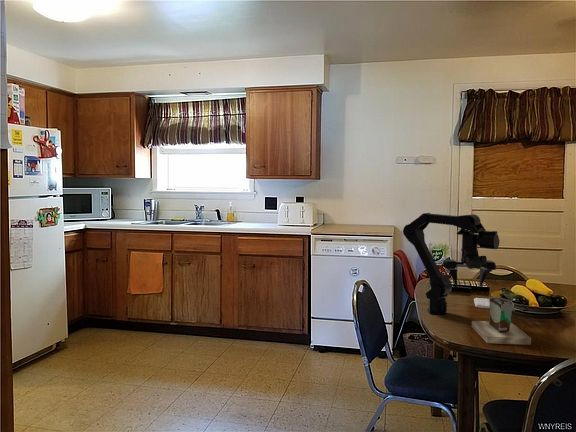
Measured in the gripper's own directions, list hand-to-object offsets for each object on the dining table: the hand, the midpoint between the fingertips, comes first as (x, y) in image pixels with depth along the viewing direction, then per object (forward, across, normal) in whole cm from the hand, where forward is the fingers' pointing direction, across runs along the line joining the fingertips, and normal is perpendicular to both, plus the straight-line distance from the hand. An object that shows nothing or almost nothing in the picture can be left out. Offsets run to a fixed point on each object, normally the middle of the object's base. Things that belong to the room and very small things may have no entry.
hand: (468, 286), depth 186 cm
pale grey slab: (+14, +6, -19) cm, 24 cm away
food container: (+11, +7, -19) cm, 23 cm away
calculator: (+14, +20, +23) cm, 33 cm away
